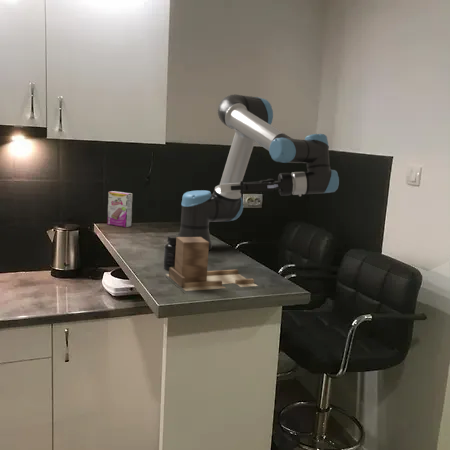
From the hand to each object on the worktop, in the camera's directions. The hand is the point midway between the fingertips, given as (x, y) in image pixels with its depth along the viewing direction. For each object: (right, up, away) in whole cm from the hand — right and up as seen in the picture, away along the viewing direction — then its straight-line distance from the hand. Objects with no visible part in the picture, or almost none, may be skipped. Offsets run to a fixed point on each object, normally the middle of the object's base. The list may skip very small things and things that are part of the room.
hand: (220, 188), depth 162 cm
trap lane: (-3, -30, -5) cm, 31 cm away
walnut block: (-9, -29, -8) cm, 32 cm away
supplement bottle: (-16, -28, +6) cm, 33 cm away
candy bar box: (-50, -13, +81) cm, 96 cm away
